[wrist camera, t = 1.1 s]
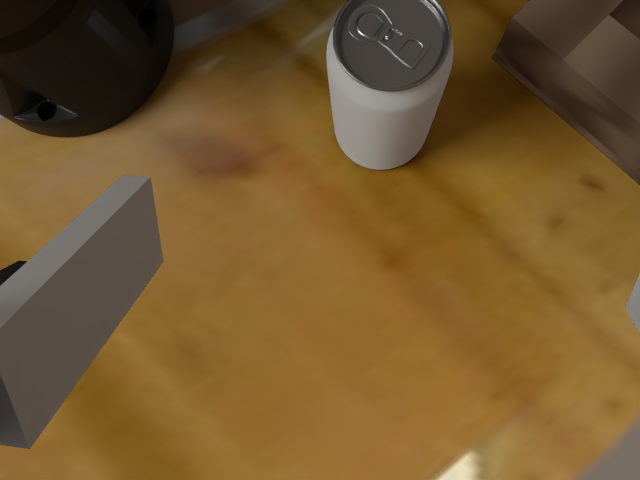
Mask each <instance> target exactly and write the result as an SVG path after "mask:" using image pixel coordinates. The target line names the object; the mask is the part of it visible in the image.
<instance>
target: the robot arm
mask: <svg viewBox="0 0 640 480" xmlns="http://www.w3.org/2000/svg"><path fill="white" fill-rule="evenodd" d="M173 36H174V26H173V18H172V12H171V9H170V5H169V2H168V0H0V115H2V116H4V117H5V118H7V119H9V120H10V121H12V122H14V123H15V124H17V125H19V126H21V127H23V128H25V129H27V130H29V131H32V132H35V133H38V134H42V135H47V136H54V137H74V136H81V135H87V134H91V133H94V132H98V131H101V130H103V129H106V128H108V127H110V126H112V125H114V124H116V123H118V122H120V121H121V120H123V119H124V118H126V117H127V116H129V115H130V114H131V113H133V112H134V111H135V110H136V109H137V108H139V107H140V106H141V105H142V104H143V103H144V102H145V101H146V99H147V98H148V97H149V96H150V95H151V94H152V92H153V91H154V90H155V88H156V87H157V85H158V84H159V82H160V80H161V78H162V76H163V74H164V72H165V70H166V68H167V65H168V62H169V59H170V56H171V51H172V46H173ZM162 263H163V255H162V248H161V242H160V235H159V229H158V222H157V216H156V209H155V203H154V196H153V190H152V183H151V177H145V176H134V175H123V176H122V177H121V178H119V179H118V180H117V181H116V182H115V183H114V184H113V185H112V186H111V187H110V188H108V189H107V190H106V191H105V192H104V193H103V194H102V195H101V196H100V197H98V198H97V199H96V200H95V201H94V202H93V203H92V204H91V205H90V206H88V207H87V208H86V209H85V210H84V211H83V212H82V213H81V214H80V215H78V216H77V217H76V218H75V219H74V220H73V221H72V222H71V223H70V224H68V225H67V226H66V227H65V228H64V229H63V230H62V231H61V232H60V233H58V234H57V235H56V236H55V237H54V238H53V239H52V240H51V241H50V242H48V243H47V244H46V245H45V246H44V247H43V248H42V249H41V250H40V251H38V252H37V253H36V254H35V255H34V256H33V257H32V258H31V259H30V260H29V261H18V262H16V263H14V264H12V265H10V266H8V267H6V268H4V269H2V270H0V445H6V446H13V447H20V448H27V449H30V448H31V447H32V445H33V444H34V443H35V441H36V440H37V438H38V437H39V436H40V434H41V433H42V431H43V430H44V428H45V427H46V426H47V424H48V423H49V421H50V420H51V419H52V417H53V416H54V414H55V413H56V412H57V410H58V409H59V407H60V406H61V405H62V403H63V402H64V400H65V399H66V398H67V396H68V395H69V393H70V392H71V391H72V389H73V388H74V386H75V385H76V384H77V382H78V381H79V379H80V378H81V377H82V375H83V374H84V372H85V371H86V370H87V368H88V367H89V365H90V364H91V363H92V361H93V360H94V358H95V357H96V356H97V354H98V353H99V351H100V350H101V348H102V347H103V346H104V344H105V343H106V341H107V340H108V339H109V337H110V336H111V334H112V333H113V332H114V330H115V329H116V327H117V326H118V325H119V323H120V322H121V320H122V319H123V318H124V316H125V315H126V313H127V312H128V311H129V309H130V308H131V306H132V305H133V304H134V302H135V301H136V299H137V298H138V297H139V295H140V294H141V292H142V291H143V290H144V288H145V287H146V285H147V284H148V283H149V281H150V280H151V278H152V277H153V276H154V274H155V273H156V271H157V270H158V268H159V267H160V266H161V264H162ZM625 309H626V310H627V312H628V314H629V316H630V318H631V319H632V321H633V323H634V325H635V326H636V328H637V330H638V332H639V334H640V274H639V276H638V279H637V281H636V284H635V286H634V289H633V291H632V294H631V296H630V298H629V301H628V303H627V306H626V308H625Z"/></svg>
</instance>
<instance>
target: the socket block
mask: <svg viewBox="0 0 640 480" xmlns="http://www.w3.org/2000/svg"><path fill="white" fill-rule="evenodd" d="M492 58H493V59H494V60H495V61H496V62H497V63H499V64H500V65H501V66H502V67H503V68H504V69H506V70H507V71H508V72H509V73H510V74H511V75H513V76H514V77H515V78H516V79H517V80H518V81H520V82H521V83H522V84H523V85H524V86H525V87H527V88H528V89H529V90H530V91H531V92H532V93H534V94H535V95H536V96H537V97H538V98H539V99H540V100H542V101H543V102H544V103H545V104H546V105H547V106H549V107H550V108H551V109H552V110H553V111H554V112H556V113H557V114H558V115H559V116H560V117H561V118H563V119H564V120H565V121H566V122H567V123H568V124H570V125H571V126H572V127H573V128H574V129H575V130H577V131H578V132H579V133H580V134H581V135H582V136H584V137H585V138H586V139H587V140H588V141H589V142H591V143H592V144H593V145H594V146H595V147H596V148H598V149H599V150H600V151H601V152H602V153H603V154H604V155H606V156H607V157H608V158H609V159H610V160H611V161H613V162H614V163H615V164H616V165H617V166H618V167H620V168H621V169H622V170H623V171H624V172H625V173H627V174H628V175H629V176H630V177H631V178H632V179H634V180H635V181H636V182H637V183H638V184H639V185H640V0H530V1H529V2H528V3H527V4H526V5H525V6H524V7H522V8H521V9H520V10H519V11H518V12H517V13H516V14H515V15H514V16H513V17H512V19H511V21H510V23H509V25H508V27H507V29H506V31H505V33H504V35H503V37H502V39H501V41H500V43H499V45H498V47H497V49H496V51H495V53H494V55H493V57H492Z"/></svg>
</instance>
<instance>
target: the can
mask: <svg viewBox="0 0 640 480" xmlns="http://www.w3.org/2000/svg"><path fill="white" fill-rule="evenodd" d="M453 55H454V48H453V40H452V36H451V28H450V23H449V19H448V17H447V14H446V12H445V10H444V9H443V7H442V6H441V4H440V3H439V2H438V1H437V0H348V1H347V2H346V3H345V5H344V6H343V7H342V9H341V10H340V12H339V14H338V16H337V18H336V21H335V24H334V27H333V29H332V31H331V33H330V36H329V39H328V44H327V53H326V60H327V72H328V81H329V90H330V98H331V107H332V115H333V122H334V129H335V134H336V138H337V141H338V143H339V145H340V147H341V149H342V150H343V152H344V153H345V154H346V155H347V156H348V157H349V158H350V159H351V160H353V161H354V162H355V163H357V164H359V165H361V166H364V167H366V168H370V169H376V170H385V169H392V168H395V167H398V166H401V165H403V164H405V163H406V162H408V161H409V160H411V159H412V158H413V157H414V156H415V155H416V154H417V153H418V152H419V151H420V149H421V148H422V146H423V144H424V142H425V140H426V138H427V135H428V133H429V130H430V127H431V125H432V122H433V119H434V117H435V114H436V111H437V109H438V106H439V103H440V100H441V98H442V95H443V92H444V89H445V87H446V84H447V81H448V78H449V75H450V71H451V68H452V63H453Z"/></svg>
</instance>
